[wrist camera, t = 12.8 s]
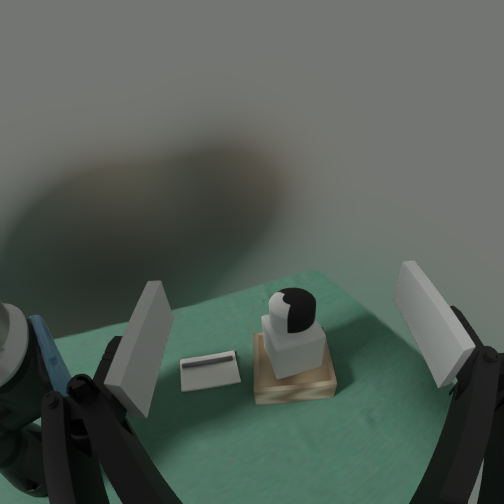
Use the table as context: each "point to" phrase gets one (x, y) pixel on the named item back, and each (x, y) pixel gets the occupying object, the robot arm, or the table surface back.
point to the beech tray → (291, 379)
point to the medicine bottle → (292, 333)
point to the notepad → (209, 371)
